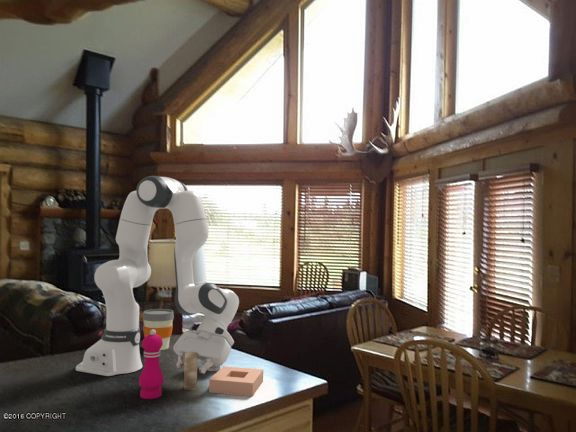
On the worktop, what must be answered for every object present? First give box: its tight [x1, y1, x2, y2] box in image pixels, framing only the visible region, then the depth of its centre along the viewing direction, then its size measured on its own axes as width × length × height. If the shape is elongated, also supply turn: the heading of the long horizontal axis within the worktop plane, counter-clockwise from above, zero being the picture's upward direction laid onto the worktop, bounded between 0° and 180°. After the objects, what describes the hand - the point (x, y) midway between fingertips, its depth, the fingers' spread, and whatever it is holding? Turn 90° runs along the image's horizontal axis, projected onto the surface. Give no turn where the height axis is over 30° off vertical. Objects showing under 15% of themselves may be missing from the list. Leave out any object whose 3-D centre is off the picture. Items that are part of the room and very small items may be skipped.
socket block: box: [208, 365, 264, 397], centre depth 156 cm, size 14×14×4 cm
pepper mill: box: [138, 329, 164, 400], centre depth 146 cm, size 7×7×20 cm
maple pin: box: [183, 352, 198, 391], centre depth 153 cm, size 4×4×11 cm
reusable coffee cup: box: [142, 308, 175, 351], centre depth 200 cm, size 13×13×15 cm
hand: (189, 369), depth 153 cm, fingers open, 8 cm apart
